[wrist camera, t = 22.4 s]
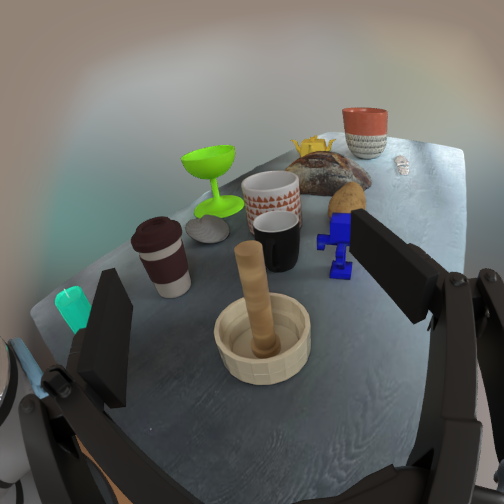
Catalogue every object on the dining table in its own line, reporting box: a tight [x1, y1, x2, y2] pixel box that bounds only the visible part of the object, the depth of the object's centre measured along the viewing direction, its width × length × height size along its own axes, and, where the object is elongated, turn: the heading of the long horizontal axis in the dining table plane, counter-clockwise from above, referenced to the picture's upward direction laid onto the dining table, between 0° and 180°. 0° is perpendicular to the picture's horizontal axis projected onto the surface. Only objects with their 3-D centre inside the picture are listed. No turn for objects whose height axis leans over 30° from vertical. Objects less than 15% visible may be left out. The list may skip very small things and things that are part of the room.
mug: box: [253, 210, 300, 272], centre depth 58 cm, size 12×9×10 cm
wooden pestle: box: [234, 240, 281, 359], centre depth 39 cm, size 4×4×18 cm
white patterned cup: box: [241, 171, 302, 235], centre depth 73 cm, size 14×14×13 cm
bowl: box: [214, 292, 311, 385], centre depth 42 cm, size 13×13×6 cm
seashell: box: [185, 214, 229, 243], centre depth 75 cm, size 12×6×10 cm
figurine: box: [317, 212, 352, 280], centre depth 53 cm, size 8×8×12 cm
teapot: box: [291, 135, 336, 157], centre depth 121 cm, size 15×14×10 cm
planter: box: [342, 108, 388, 159], centre depth 112 cm, size 20×20×21 cm
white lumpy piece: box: [395, 155, 409, 175], centre depth 106 cm, size 6×28×1 cm, turn 157°
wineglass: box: [181, 145, 244, 218], centre depth 87 cm, size 16×16×18 cm
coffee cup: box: [131, 217, 191, 298], centre depth 56 cm, size 10×10×15 cm
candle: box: [55, 286, 91, 334], centre depth 47 cm, size 6×6×12 cm
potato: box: [328, 182, 366, 220], centre depth 70 cm, size 9×16×9 cm, turn 145°
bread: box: [285, 151, 372, 196], centre depth 96 cm, size 27×32×10 cm
